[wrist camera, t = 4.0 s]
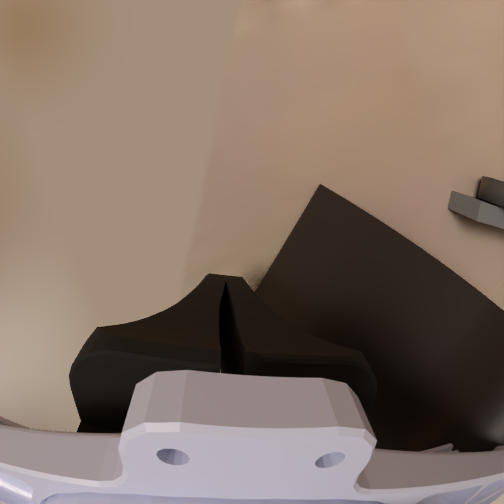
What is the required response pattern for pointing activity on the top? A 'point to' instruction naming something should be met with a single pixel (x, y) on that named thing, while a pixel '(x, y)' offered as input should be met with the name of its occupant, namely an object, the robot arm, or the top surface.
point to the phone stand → (395, 325)
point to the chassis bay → (482, 203)
